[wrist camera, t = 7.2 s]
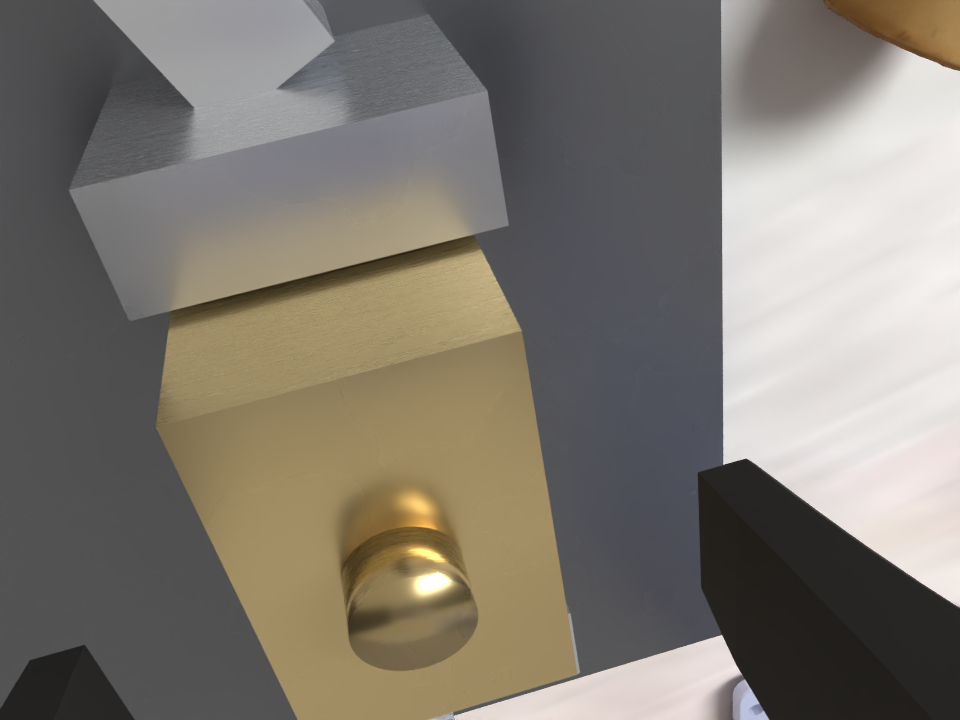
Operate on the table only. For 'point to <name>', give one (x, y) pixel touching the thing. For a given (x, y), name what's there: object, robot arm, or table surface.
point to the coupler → (374, 483)
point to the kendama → (909, 25)
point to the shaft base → (552, 264)
